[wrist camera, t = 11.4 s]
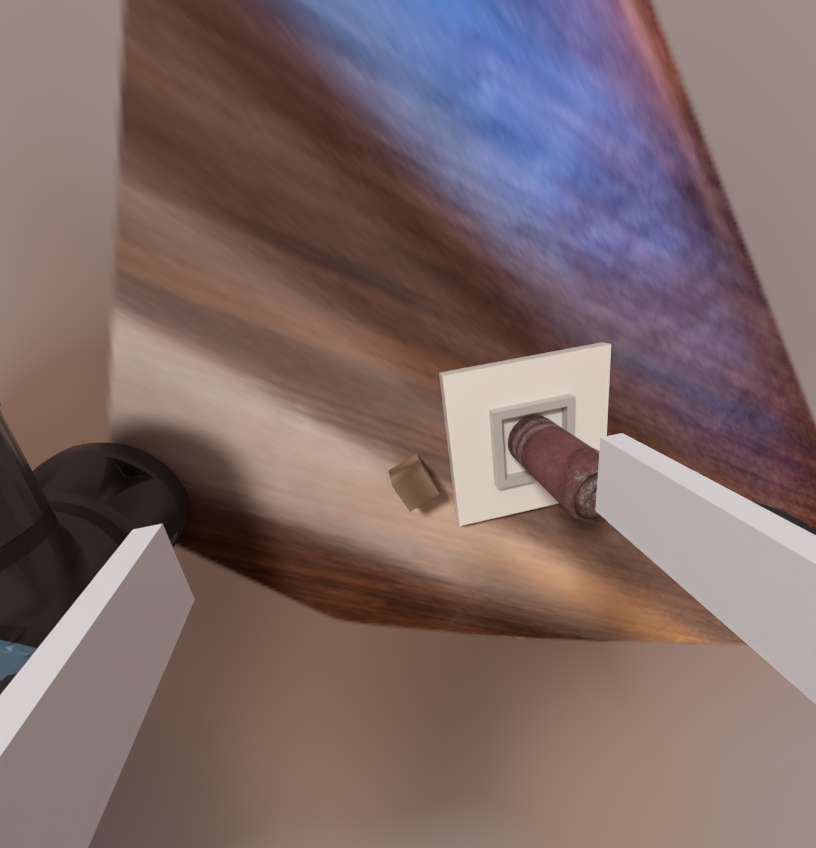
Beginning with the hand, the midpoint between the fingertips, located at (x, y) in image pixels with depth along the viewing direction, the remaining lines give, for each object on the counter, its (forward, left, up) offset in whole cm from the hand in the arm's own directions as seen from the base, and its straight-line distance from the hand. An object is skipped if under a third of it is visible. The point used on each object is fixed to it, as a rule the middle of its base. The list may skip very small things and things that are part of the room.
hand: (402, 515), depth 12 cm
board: (+18, -15, -32) cm, 40 cm away
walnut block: (+3, -17, -32) cm, 36 cm away
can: (+18, -14, -31) cm, 38 cm away
